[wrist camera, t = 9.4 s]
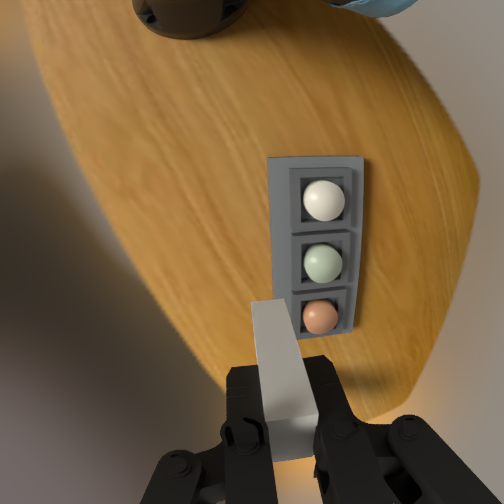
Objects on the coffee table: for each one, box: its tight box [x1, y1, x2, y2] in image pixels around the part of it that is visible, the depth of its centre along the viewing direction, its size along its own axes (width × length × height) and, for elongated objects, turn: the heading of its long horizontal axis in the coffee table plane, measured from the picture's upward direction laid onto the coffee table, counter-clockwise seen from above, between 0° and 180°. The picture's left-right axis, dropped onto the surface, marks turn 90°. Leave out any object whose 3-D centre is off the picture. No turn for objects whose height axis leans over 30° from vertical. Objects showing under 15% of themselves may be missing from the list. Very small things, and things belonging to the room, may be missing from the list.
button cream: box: [302, 179, 345, 221], centre depth 34 cm, size 5×5×2 cm
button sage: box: [302, 242, 342, 283], centre depth 37 cm, size 5×5×2 cm
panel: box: [267, 156, 364, 340], centre depth 39 cm, size 26×12×4 cm, turn 4°
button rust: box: [302, 298, 338, 334], centre depth 40 cm, size 5×5×2 cm
